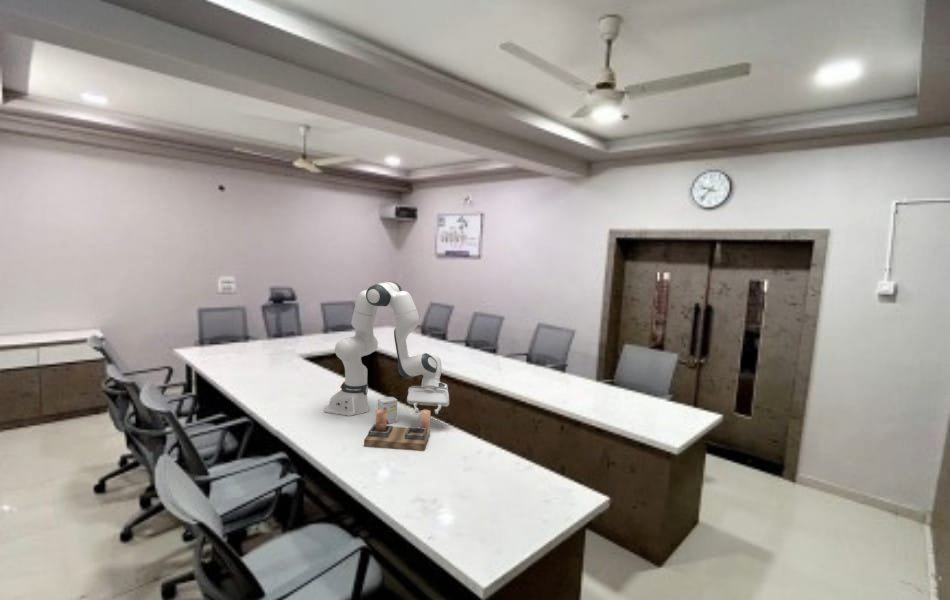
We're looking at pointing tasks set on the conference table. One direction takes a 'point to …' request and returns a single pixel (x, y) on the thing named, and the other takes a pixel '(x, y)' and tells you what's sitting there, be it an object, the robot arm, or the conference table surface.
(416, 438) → the build base
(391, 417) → the ink box
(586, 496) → the conference table surface
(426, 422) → the terracotta pillar
